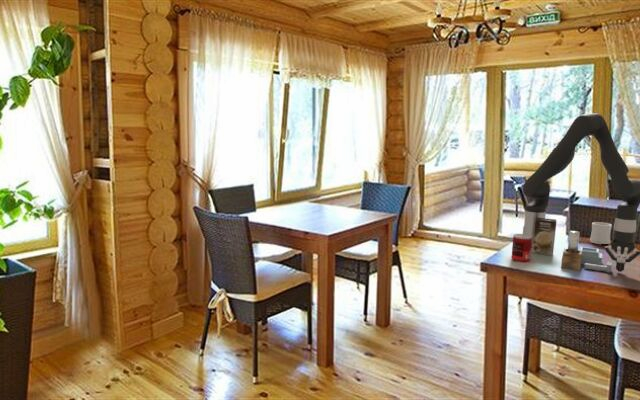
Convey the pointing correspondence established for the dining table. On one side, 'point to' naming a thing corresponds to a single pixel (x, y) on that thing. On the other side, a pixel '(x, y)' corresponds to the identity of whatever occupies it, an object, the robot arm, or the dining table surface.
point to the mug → (600, 233)
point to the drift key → (599, 267)
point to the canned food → (521, 247)
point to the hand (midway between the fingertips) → (619, 271)
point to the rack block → (591, 256)
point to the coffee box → (544, 236)
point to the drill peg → (573, 241)
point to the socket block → (571, 260)
